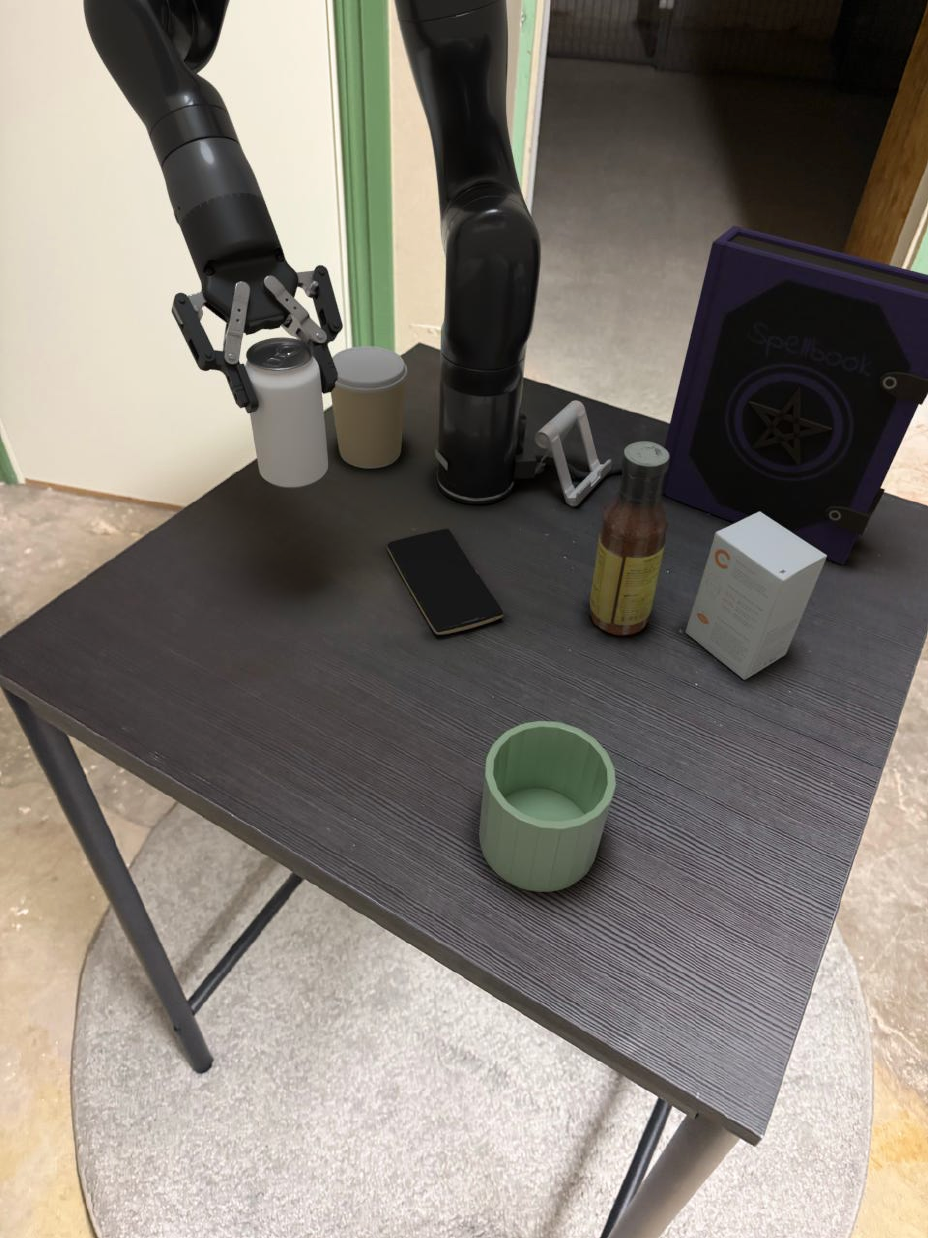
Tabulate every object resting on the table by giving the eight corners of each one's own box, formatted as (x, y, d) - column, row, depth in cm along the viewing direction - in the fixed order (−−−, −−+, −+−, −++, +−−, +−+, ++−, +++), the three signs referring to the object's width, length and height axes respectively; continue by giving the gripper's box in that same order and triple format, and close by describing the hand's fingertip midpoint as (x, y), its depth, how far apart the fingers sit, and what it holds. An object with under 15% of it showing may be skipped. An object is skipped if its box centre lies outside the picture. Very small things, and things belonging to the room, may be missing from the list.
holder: (551, 770, 75) (563, 703, 69) (621, 856, 69) (642, 791, 63) (456, 819, 71) (461, 752, 65) (523, 914, 65) (535, 850, 59)
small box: (786, 655, 86) (830, 555, 77) (743, 682, 83) (784, 581, 74) (725, 608, 91) (759, 508, 82) (682, 632, 88) (713, 531, 79)
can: (340, 459, 83) (331, 343, 75) (309, 497, 79) (296, 377, 71) (280, 445, 85) (264, 329, 76) (246, 481, 80) (226, 362, 72)
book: (652, 494, 105) (711, 241, 84) (673, 470, 109) (734, 223, 88) (845, 569, 96) (965, 309, 75) (861, 540, 100) (979, 285, 79)
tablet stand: (577, 509, 102) (587, 448, 96) (520, 486, 105) (526, 425, 99) (610, 475, 108) (621, 415, 102) (554, 453, 110) (562, 395, 105)
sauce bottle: (655, 608, 90) (698, 445, 77) (637, 647, 86) (680, 482, 72) (595, 589, 92) (627, 426, 78) (575, 625, 88) (605, 461, 74)
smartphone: (447, 526, 97) (505, 613, 87) (447, 534, 98) (504, 621, 88) (385, 541, 94) (437, 632, 85) (385, 549, 95) (437, 640, 86)
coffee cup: (412, 434, 112) (412, 347, 104) (401, 475, 106) (400, 386, 97) (341, 428, 113) (335, 341, 104) (325, 468, 106) (318, 379, 98)
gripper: (140, 203, 68) (218, 408, 69) (310, 177, 73) (379, 366, 74) (135, 248, 74) (206, 433, 76) (291, 220, 80) (355, 393, 81)
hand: (292, 399), depth 75 cm, fingers closed on can, 6 cm apart
